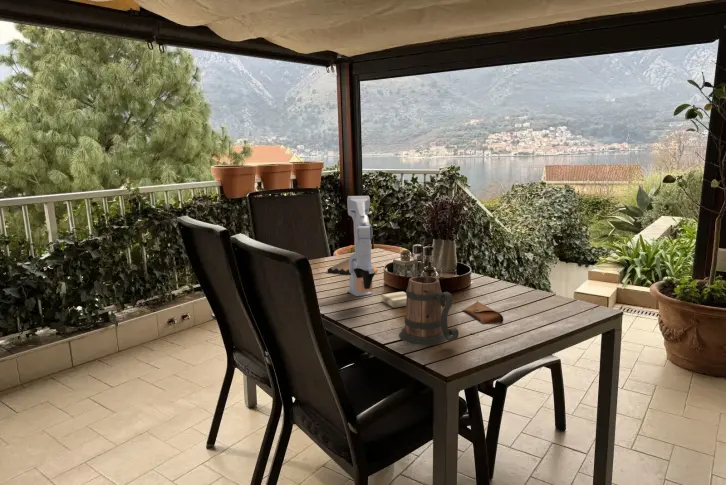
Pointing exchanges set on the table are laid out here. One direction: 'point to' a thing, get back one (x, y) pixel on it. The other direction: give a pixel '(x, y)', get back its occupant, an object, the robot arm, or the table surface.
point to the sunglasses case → (483, 313)
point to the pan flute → (343, 268)
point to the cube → (362, 285)
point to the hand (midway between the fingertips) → (364, 286)
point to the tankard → (427, 313)
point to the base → (395, 299)
